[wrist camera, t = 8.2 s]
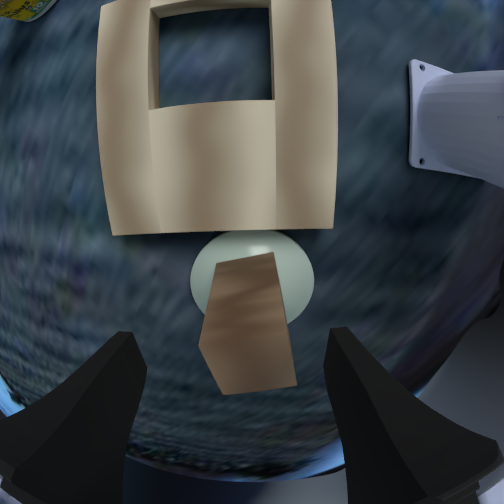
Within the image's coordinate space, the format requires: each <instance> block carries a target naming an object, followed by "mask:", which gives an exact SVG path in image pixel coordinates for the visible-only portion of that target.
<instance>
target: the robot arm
mask: <svg viewBox="0 0 504 504" xmlns="http://www.w3.org/2000/svg"><path fill="white" fill-rule="evenodd" d="M419 66H421V67H422V70H421V69H420V67H419ZM409 79H410V146H409V163H410V165H411V166H413V167H415V168H422V169H429V170H435V171H442V172H448V173H454V174H459V175H464V176H469V177H474V178H479V179H482V180H485V181H487V182H490V183H492V184H495V185H497V186H499V187H502V188H504V70H500V71H479V72H467V73H457V74H454V73H451V72H449V71H446V70H444V69H441V68H439V67H436V66H433V65H430V64H427V63H425V62H422V61H419V60H411V61H409ZM420 159H422V163H421V164H420V163H419V161H420ZM323 367H324V374H325V380H326V386H327V391H328V395H329V398H330V402H331V406H332V409H333V413H334V416H335V420H336V423H337V427H338V430H339V434H340V438H341V442H342V447H343V453H344V461H345V468H346V478H347V489H348V504H504V477H503V478H501V479H500V480H498V481H497V482H495V483H494V484H492V485H491V486H489V487H488V488H486V489H485V490H483V491H481V492H480V493H477V494H476V490H478V489H479V488H480V486H479V483H478V481H479V480H480V479H482V478H483V477H485V476H486V475H488V474H489V473H491V472H492V471H493V470H495V469H496V468H497V467H499V466H500V465H502V464H503V463H504V458H503V456H502V453H501V450H500V448H499V446H498V444H497V442H496V440H493V439H490V438H487V437H485V436H482V435H480V434H477V433H474V432H472V431H470V430H468V429H466V428H464V427H462V426H460V425H458V424H456V423H454V422H452V421H451V420H449V419H447V418H446V417H444V416H442V415H441V414H439V413H438V412H436V411H434V410H433V409H431V408H430V407H429V406H427V405H426V404H424V403H423V402H422V401H420V400H419V399H418V398H417V397H415V396H414V395H413V394H412V393H410V392H409V391H408V390H407V389H406V388H405V387H403V386H402V385H401V384H400V383H399V382H398V381H397V380H396V379H395V378H394V377H393V376H392V375H391V374H390V373H389V372H388V371H387V370H386V369H385V368H384V367H383V366H382V365H381V364H380V363H379V362H378V361H377V360H376V359H375V358H374V357H373V356H372V355H371V354H370V353H369V351H368V350H367V349H366V348H365V347H364V346H363V345H362V344H361V342H360V341H359V340H358V339H357V338H356V337H355V336H354V334H353V333H352V332H351V331H350V330H349V329H348V328H347V327H340V328H330V333H329V339H328V344H327V350H326V355H325V360H324V365H323ZM146 373H147V366H146V364H145V362H144V359H143V357H142V355H141V352H140V350H139V348H138V345H137V343H136V340H135V338H134V335H133V333H132V332H122V331H118V332H117V333H116V334H115V335H114V336H113V337H112V338H110V339H109V340H108V341H107V342H106V343H105V344H104V345H103V346H102V347H101V348H100V349H99V350H98V351H97V352H96V353H95V354H94V355H92V356H91V357H90V358H89V359H88V360H87V361H86V362H85V363H84V364H83V365H82V366H81V367H80V368H79V369H77V370H76V371H75V372H74V373H73V374H72V375H71V376H69V377H68V378H67V379H66V380H65V381H64V382H63V383H61V384H60V385H59V386H58V387H56V388H55V389H54V390H52V391H51V392H50V393H48V394H47V395H45V396H44V397H43V398H41V399H39V400H38V401H36V402H35V403H33V404H31V405H30V406H28V407H26V408H25V409H23V410H21V411H19V412H17V413H15V414H13V415H11V416H9V417H6V418H4V419H2V420H0V475H1V476H2V477H3V478H2V477H1V476H0V504H123V503H122V490H123V489H122V487H123V471H124V462H125V455H126V448H127V443H128V439H129V435H130V431H131V428H132V425H133V422H134V418H135V415H136V412H137V409H138V406H139V403H140V399H141V396H142V393H143V389H144V384H145V379H146Z"/></svg>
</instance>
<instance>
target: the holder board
mask: <svg viewBox="0 0 504 504" xmlns="http://www.w3.org/2000/svg"><path fill="white" fill-rule="evenodd" d="M233 8H269V26H270V50H271V81H272V100H244V101H223V102H209V103H198V104H189V105H180V106H173V107H166V108H159V23H160V18H163V17H168V16H174V15H179V14H185V13H192V12H200V11H208V10H219V9H233ZM96 105H97V126H98V140H99V151H100V160H101V169H102V176H103V184H104V190H105V197H106V203H107V208H108V214H109V219H110V224H111V229H112V234H113V235H131V234H152V233H174V232H200V231H230V230H269V229H333V220H334V207H335V192H336V173H337V143H338V95H337V66H336V49H335V36H334V24H333V15H332V6H331V0H117V1H114V2H111V3H109V4H106V5H103V6H101V14H100V22H99V32H98V45H97V64H96Z"/></svg>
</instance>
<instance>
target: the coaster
mask: <svg viewBox="0 0 504 504" xmlns="http://www.w3.org/2000/svg"><path fill="white" fill-rule="evenodd" d="M270 252H274V256H275V261H276V266H277V271H278V276H279V281H280V286H281V291H282V296H283V302H284V308H285V314H286V319H287V324H288V323H290V322H291V321H293V320H294V319H295V318H296V317H298V316H299V315H300V314H301V312H302V311H303V310H304V309H305V307H306V306H307V304H308V302H309V300H310V298H311V296H312V293H313V287H314V274H313V269H312V266H311V263H310V261H309V259H308V257H307V255H306V253H305V252H304V250H303V249H302V248H301V247H300V245H299V244H298V243H297V242H295V241H294V240H293V239H292V238H290V237H289V236H287V235H285V234H284V233H281V232H279V231H277V230H274V229H269V230H230V231H225V232H223V233H221V234H219V235H217V236H216V237H215V238H213V239H212V240H210V241H209V242H208V243H207V244H206V245H205V246H204V247H203V249H202V250H201V251H200V252H199V254H198V256H197V258H196V260H195V262H194V265H193V268H192V272H191V279H190V284H191V291H192V295H193V298H194V300H195V302H196V304H197V306H198V307H199V309H200V310H201V311H202V312H203V314H204V315H205V312H206V307H207V302H208V298H209V293H210V289H211V284H212V280H213V275H214V271H215V266H216V263H219V262H224V261H229V260H234V259H239V258H244V257H249V256H255V255H260V254H265V253H270Z"/></svg>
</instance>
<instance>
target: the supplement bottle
mask: <svg viewBox="0 0 504 504" xmlns="http://www.w3.org/2000/svg"><path fill="white" fill-rule="evenodd" d="M56 1H57V0H0V16H2V17H7V18H12V19H16V20H20V21H25V22H30V21H33V20H35V19H37V18H39V17H40V16H42V15H43V14H44V13H45V12H46V11H47V10H49V9H50V8H51V7H52V6H53V5H54V3H55V2H56Z"/></svg>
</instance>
